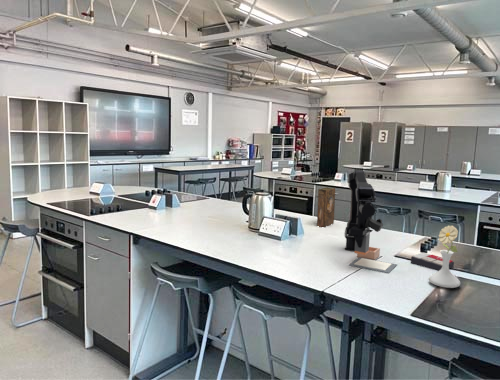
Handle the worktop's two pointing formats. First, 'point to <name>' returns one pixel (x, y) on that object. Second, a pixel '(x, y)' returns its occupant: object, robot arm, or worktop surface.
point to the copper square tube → (371, 253)
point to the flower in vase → (446, 260)
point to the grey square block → (363, 245)
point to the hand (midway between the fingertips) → (361, 246)
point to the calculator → (429, 261)
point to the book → (325, 207)
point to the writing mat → (373, 265)
